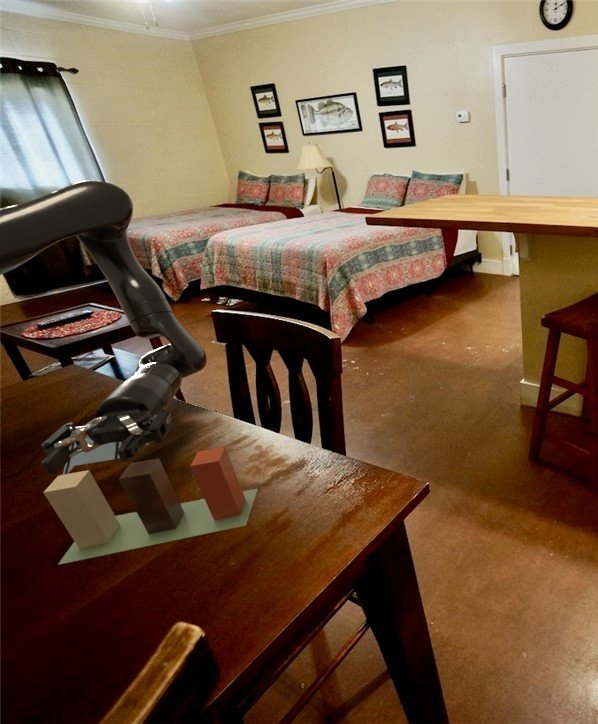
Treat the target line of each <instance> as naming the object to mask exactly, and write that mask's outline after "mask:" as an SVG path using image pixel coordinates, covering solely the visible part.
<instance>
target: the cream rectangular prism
mask: <svg viewBox="0 0 598 724" xmlns="http://www.w3.org/2000/svg"><path fill="white" fill-rule="evenodd" d="M43 494H44V496H45V497H46V499H47V501H48V503H49V504H50V505H51V507H52V509H53V510H54V512H55V513H56V515H57V517H58V518H59V519H60V521H61V523H62V524H63V526H64V527H65V529H66V530H67V532H68V534H69V535H70V537H71V538H72V540H73V542H75V543H76V544H77V546H78V548H79V549H81V548H85V547H90V546H95V545H100V544H104V543H109V542H110V540H111V539H112V537H113V535H114V534H115V532H116V531H117V529H118V527H119V526H120V524H119V522H118V520H117V519H116V517H115V516H116V515H115V513H114V511H113V510H112V508H111V506H110V504H109V503H108V501H107V499H106V497H105V496H104V493H103V492H102V490H101V488H100V487H99V485H98V483H97V481H96V480H95V478H94V476H93V474H92V472H91V471H90V469H88V470H83V471H77V472H71V473H70V472H69V473H68V474H65V475H63V474H60V475H57V476H56V478H55V479H54V480H53V481H52V482H51V483H50V484H49V486H48V487H46V489H44V491H43Z"/></svg>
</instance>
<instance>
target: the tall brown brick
mask: <svg viewBox="0 0 598 724" xmlns="http://www.w3.org/2000/svg"><path fill="white" fill-rule="evenodd" d="M165 470H166V469H165V468H164V466H163V464H162V462H161V460H160V458H159V457H158V458H153V459H147V460H141V461H135V462H130V463H129V464H128V466H127V467H126V468H125V469H124V471H123V472H122V474H121V475H120V477H119V478H118V480H119V482H120V484H121V486H122V487H123V490H124V491H125V493H126V495H127V497H128V499H129V501H130V502H131V504H132V506H133V508H134V510H135V512H137V514H138V516H139V518H140V519H141V521H142V523H143V525H144V527H145V529H146V531H147V533H148V534H152V533H157V532H162V531H167V530H172V529H176V528H177V526H178V524H179V522H180V520H181V518H182V516H183V514H184V510H183V508H182V506H181V502H180V499H179V497H178V495H177V493H176V491H175V489H174V487H173V484H172V483H171V481H170V478H169V477H168V474H167V472H166V471H165Z"/></svg>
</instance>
